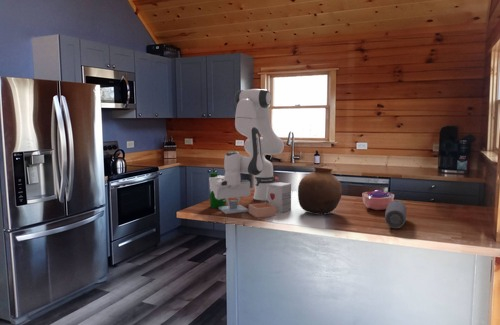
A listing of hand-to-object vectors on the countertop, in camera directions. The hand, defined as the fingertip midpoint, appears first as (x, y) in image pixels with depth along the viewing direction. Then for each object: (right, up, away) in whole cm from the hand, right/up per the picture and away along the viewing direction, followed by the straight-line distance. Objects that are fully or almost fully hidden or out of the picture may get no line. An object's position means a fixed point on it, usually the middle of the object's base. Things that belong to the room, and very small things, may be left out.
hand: (233, 205), depth 211 cm
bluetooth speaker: (+78, -6, -31) cm, 84 cm away
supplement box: (+26, -3, 0) cm, 26 cm away
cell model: (+80, -2, -1) cm, 80 cm away
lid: (0, -3, 0) cm, 2 cm away
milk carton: (-9, -2, +10) cm, 13 cm away
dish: (+16, -4, -10) cm, 19 cm away
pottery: (+46, -3, -8) cm, 47 cm away
